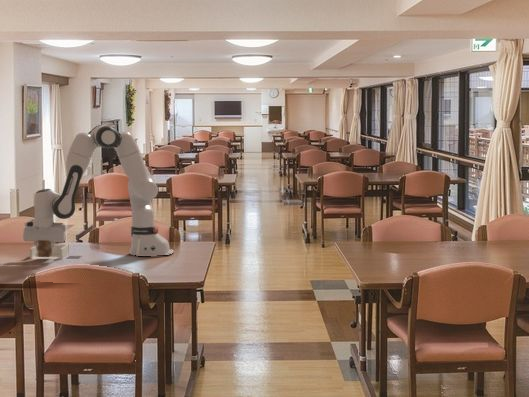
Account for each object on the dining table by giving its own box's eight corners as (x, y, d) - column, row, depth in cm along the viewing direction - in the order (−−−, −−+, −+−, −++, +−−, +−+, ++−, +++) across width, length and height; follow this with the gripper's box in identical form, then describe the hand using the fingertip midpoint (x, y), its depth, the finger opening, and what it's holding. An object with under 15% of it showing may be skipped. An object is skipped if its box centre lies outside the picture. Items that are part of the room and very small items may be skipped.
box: (69, 255, 370) (68, 244, 369) (62, 260, 359) (62, 249, 359) (37, 255, 371) (37, 244, 370) (30, 259, 360) (29, 248, 359)
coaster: (81, 257, 366) (81, 255, 366) (78, 259, 360) (78, 258, 360) (70, 256, 367) (70, 255, 367) (66, 259, 361) (66, 258, 361)
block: (52, 255, 361) (51, 239, 360) (48, 257, 356) (48, 240, 355) (42, 254, 361) (41, 238, 360) (38, 256, 356) (37, 240, 355)
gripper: (67, 221, 359) (68, 249, 361) (26, 221, 360) (27, 248, 362) (63, 223, 353) (64, 252, 355) (21, 223, 354) (22, 251, 355)
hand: (45, 250), depth 358 cm, fingers closed on block, 5 cm apart
